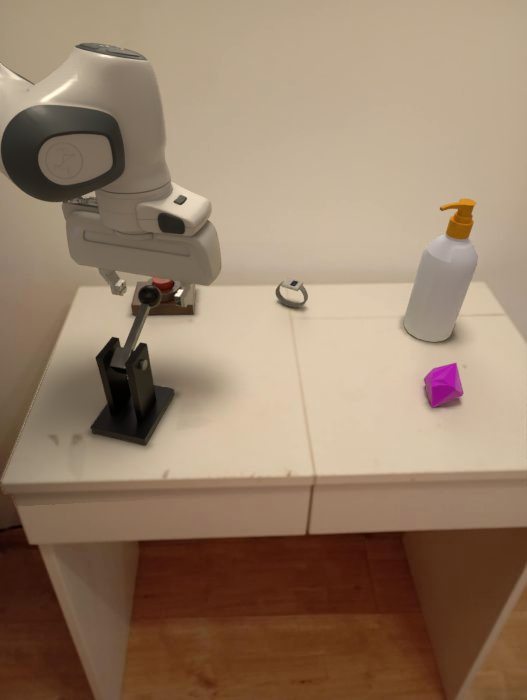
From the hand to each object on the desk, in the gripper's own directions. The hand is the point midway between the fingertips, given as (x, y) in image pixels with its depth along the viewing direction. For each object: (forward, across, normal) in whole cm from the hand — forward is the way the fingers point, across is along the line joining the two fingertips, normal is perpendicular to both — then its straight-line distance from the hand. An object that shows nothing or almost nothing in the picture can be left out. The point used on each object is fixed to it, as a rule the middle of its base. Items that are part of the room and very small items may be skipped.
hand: (150, 298), depth 66 cm
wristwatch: (+14, +16, +24) cm, 32 cm away
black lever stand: (+14, 0, -9) cm, 17 cm away
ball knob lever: (+3, 0, -4) cm, 5 cm away
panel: (+14, -7, +18) cm, 24 cm away
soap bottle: (+14, +41, +24) cm, 49 cm away
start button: (+10, -7, +18) cm, 22 cm away
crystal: (+14, +43, +7) cm, 46 cm away
